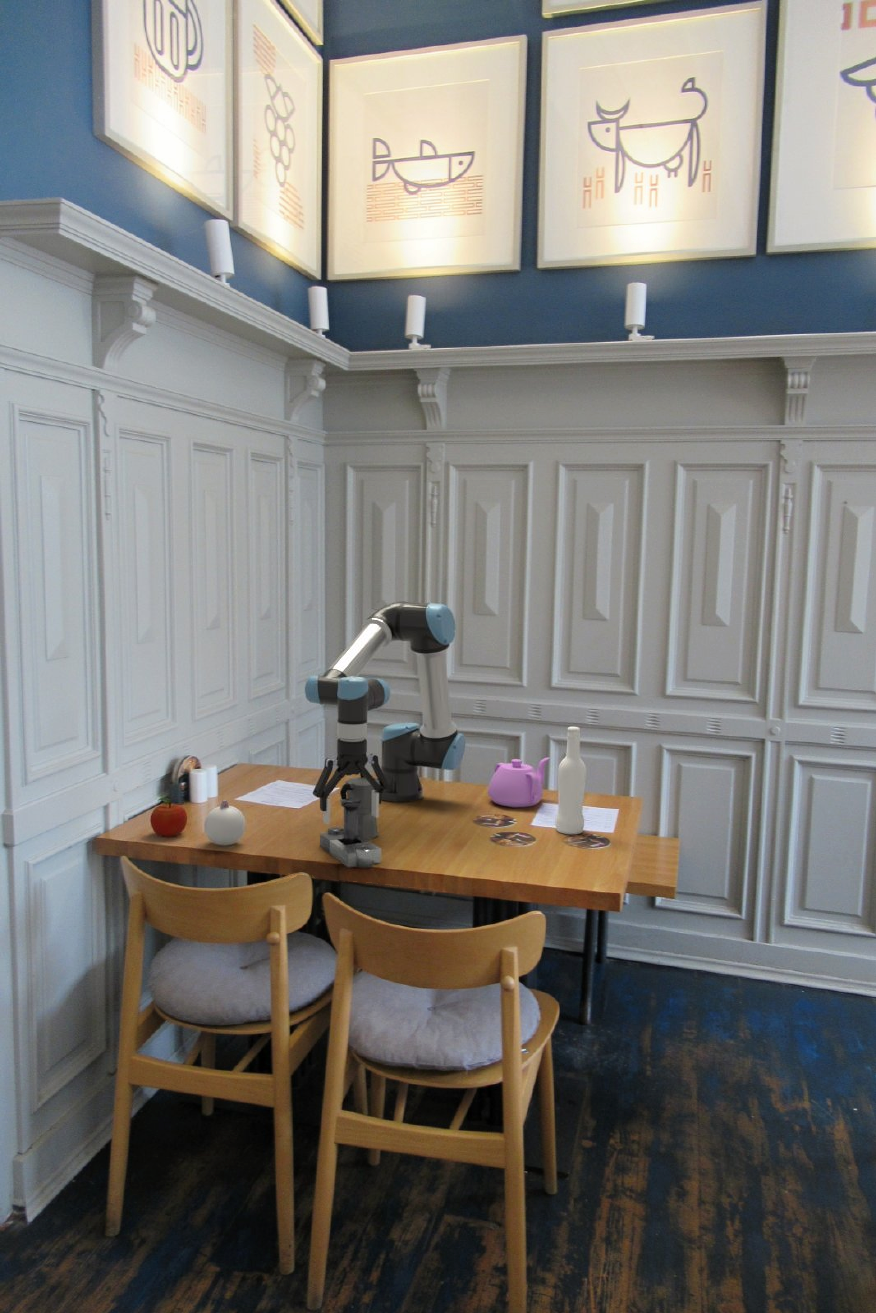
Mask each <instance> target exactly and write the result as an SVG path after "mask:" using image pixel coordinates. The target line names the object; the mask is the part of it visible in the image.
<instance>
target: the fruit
mask: <svg viewBox="0 0 876 1313" xmlns="http://www.w3.org/2000/svg"><path fill="white" fill-rule="evenodd" d="M157 801H163V802H164V803H165V804H162V805H161V804H160V805H158V806H156V807H155V808H154V809H153V810H152V812H151V815H150V819H149V820H150V826H151V829H152V831H153V832H154V833H155V834H156V835H158V836H160V837H164V838H170V837H172V838H173V837H175V835H176V836H178V835H179V834H181V833H182V832H183V831H184V829H185V828H186V826H187V823H188V814H187V811H186V809H185V808H184V807H183V806H182V805H180V804H176V803H172V801H170V799H169V798H168V797H162V798H159V799H158V800H157Z"/></svg>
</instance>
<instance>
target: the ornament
mask: <svg viewBox="0 0 876 1313" xmlns="http://www.w3.org/2000/svg"><path fill="white" fill-rule="evenodd" d="M203 825H204V828H203V829H204V833H205V836H206V838H207V839H208V840H209V841H210V842H211V843H213V844H214V845H218V846H231V845H233V844H235V843H237V842H239V840H241V838H242V837H243V836H244V834H245V831H246V818H245V816H244V814H243V812H242V811H241V810H240V809H239V808H237V807H235V806H232V805H229V802H228V800H226V799H222V801H221V803H220V806H216V807H215V808H212V810H210V811H209V813H208V814H207V815H206V817H205V820H204V824H203Z"/></svg>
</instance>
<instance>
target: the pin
mask: <svg viewBox="0 0 876 1313" xmlns="http://www.w3.org/2000/svg"><path fill="white" fill-rule="evenodd" d="M340 806H341V807H343V827H342V828H343V844H344V845H349V844H357V834H358V807H359V806H361V800H359V799H354V798H347V799H341V800H340Z"/></svg>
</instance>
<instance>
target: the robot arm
mask: <svg viewBox="0 0 876 1313" xmlns="http://www.w3.org/2000/svg"><path fill="white" fill-rule="evenodd" d="M455 635H456V621H455V616H454V613H453V612H452V609H451V608H449V607H448V606H447V605H445V604H442V603H435V602H415V601H414V602H413V601H411V602H410V601H395V602H392V603H389V604H386V605H385V606H383V607H381V608H379V609H378V610H376V611H375V612H373V613H372V614H371V615H369V617H367V618H366V620H365V621H364V622H363V623H362V626H361V631H360V632H359V633H358V634H357V635H356V637H355V638H354V639H353V640H352V641H351V642H350V643H349V644H348V645H347V647H346V648H345V649H344V650H343V652H342V653H341V654H340V655H339V656H338V657H337V658H336V659H335V661H334V662H333V663H332V664H331V665H330V667H329V668H328V669H327V670H326V671H325V672H324V673H323V675H319V674H317V675H310V676H309V677H308V678H307V680H306V681H305V685H304V694H305V698H306V701H307V700H308V702H309V703H312V704H316V705H317V704H318V705H322V706H323V705H324V706H325V705H326V706H333V707H334V706H335V707H336V706H337V725H336V726H337V727H336V728H337V735H336V736H337V741H336V753H337V756H336V759H330V758H328V757H326V758H325V760H324V767H323V769H322V771H321V774H320V775H319V778H318V780H317V783H316V785H315V786H314V789H313V791H312V795H313V796H315V797H316V798H319V810H320V811H321V812H322V822H323V823H324V824H326V826H327V825H331V799H330V798H329V796H330V795H331V793H332V792H333V790H334V789H335V788H336V786H338V784H339V783H340V781H341V780H342V779H343V778H344V777H345V776H352V775H360V773H361V774H362V775H363V776H364V777H365V778H366V779H367V781H368V782H369V783H370V784H371V785H372V787H373V788H374V789H375V791H372V810H371V815H372V816H374V817H375V818H376V819H377V818H378V819H379V816H380V814H379V812H380V808H379V807H380V805H381V804H382V801H386V802H392V803H393V802H396V803H401V802H402V803H405V802H406V803H408V802H414V801H418V800H421V799H422V798H423V795H424V790H423V786H422V783H421V779H420V776H419V772H418V770H419V767H420V768H428V769H436V770H441V771H445V770H446V771H455V770H456V769H458V767H459V766H460V764H461V762H462V761H463V758H464V754H465V748H466V737H465V735H464V734H463V733H462V732H458V726H457V724H456V723H455V722H454V721H452V713H451V703H450V702H451V701H450V691H449V681H448V680H449V678H448V669H447V659H446V658H447V657H446V651H447V650H448V649H449V647H450V645H451V643H453V641H454V639H455ZM394 641H396V642H397V641H402V642H409V644H410V646H409V647H410V651H411V652H413V653H414V654H415V655H416V663H417V671H418V681H419V691H420V702H421V709H422V711H421V712H422V720H423V724H422V725H420V724H419V723H415V722H403V723H395V724H390V725H389V724H388V725H387V726H385V727H384V728H383V729H382V733H381V734H382V735H381V761H380V763H381V766H380V763H379V756H378V755H376V754H375V753H370V754H369V755H367V752H368V751H367V750H368V741H367V739H366V738H367V737H368V711H372V710H374V709H379V708H381V707H382V706H384V705H385V704H387V703H388V702H389V700H390V698H391V688H390V687H389V684H388V683H387V682H386V681H385V680H383V679H381V678H370V679H367V678H366V677H361V676H360V674H361V673H362V672H363V671H364V669H365V668H366V667H367V666H368V665H369V663H370V662H371V661H372V660H373V659H374V658H375V656H376V655H377V654H378V653H379V651H380V650H381V649H382V648H384V647H387V646H388V645H389V644H390V643H391V642H394ZM368 763H369V764H370V766H371V768H372V770H373V772H374V774H375V776H376V778H377V779H378V781H379V784H378V783H377V782H376V780H375V779H374V778H375V777H373V775H372V774H371V773H370V771H369V770H368V769H367V768H366V767H365V766H366V765H367V764H368ZM335 766H337V767H336V769H335V771H334V773H333V775H332V772H333V770H334V768H335ZM331 775H332V777H330V776H331Z"/></svg>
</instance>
